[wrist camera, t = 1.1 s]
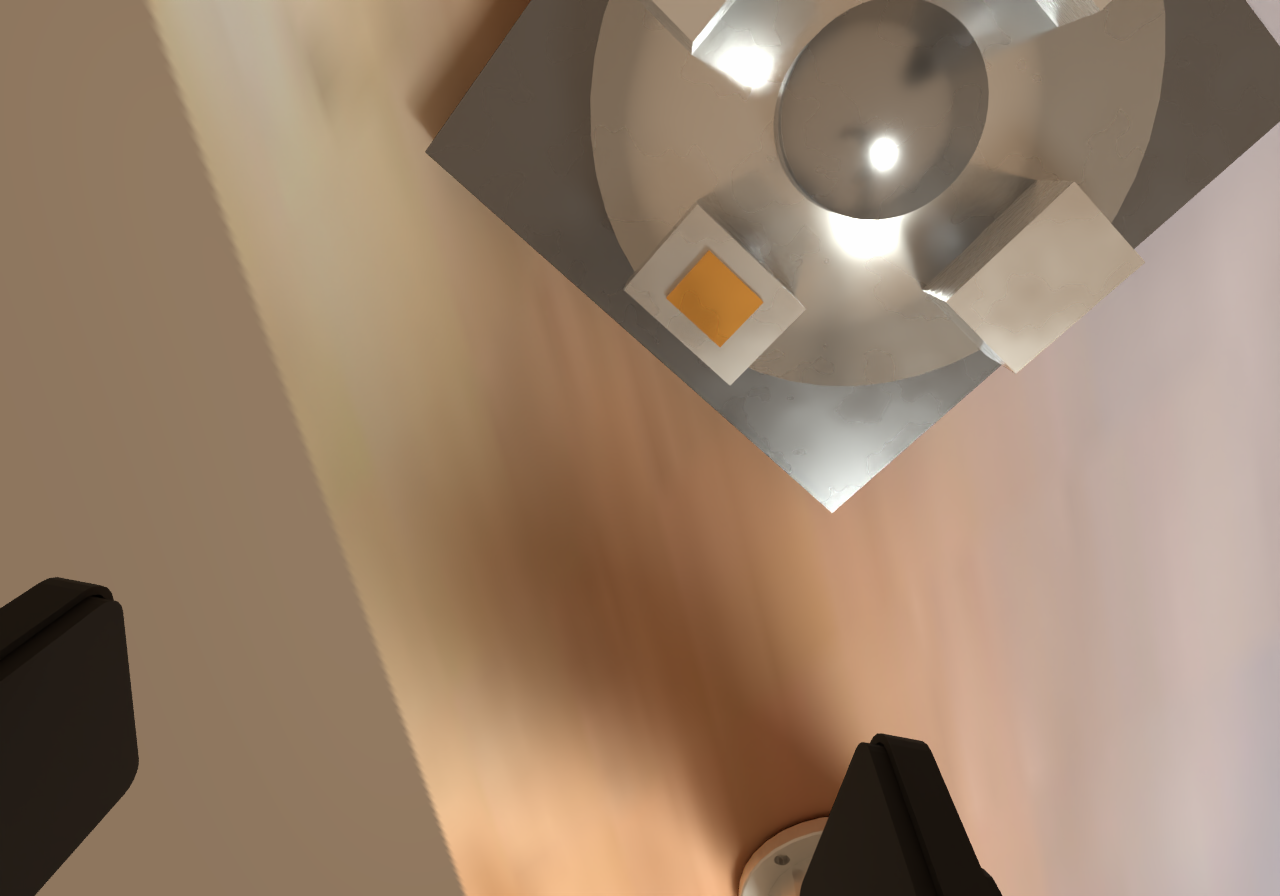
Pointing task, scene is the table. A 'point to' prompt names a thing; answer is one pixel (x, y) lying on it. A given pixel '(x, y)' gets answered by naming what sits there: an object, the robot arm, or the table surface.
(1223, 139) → the grey square base plate
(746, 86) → the silver hub plate
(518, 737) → the table surface
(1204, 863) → the table surface
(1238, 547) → the table surface
